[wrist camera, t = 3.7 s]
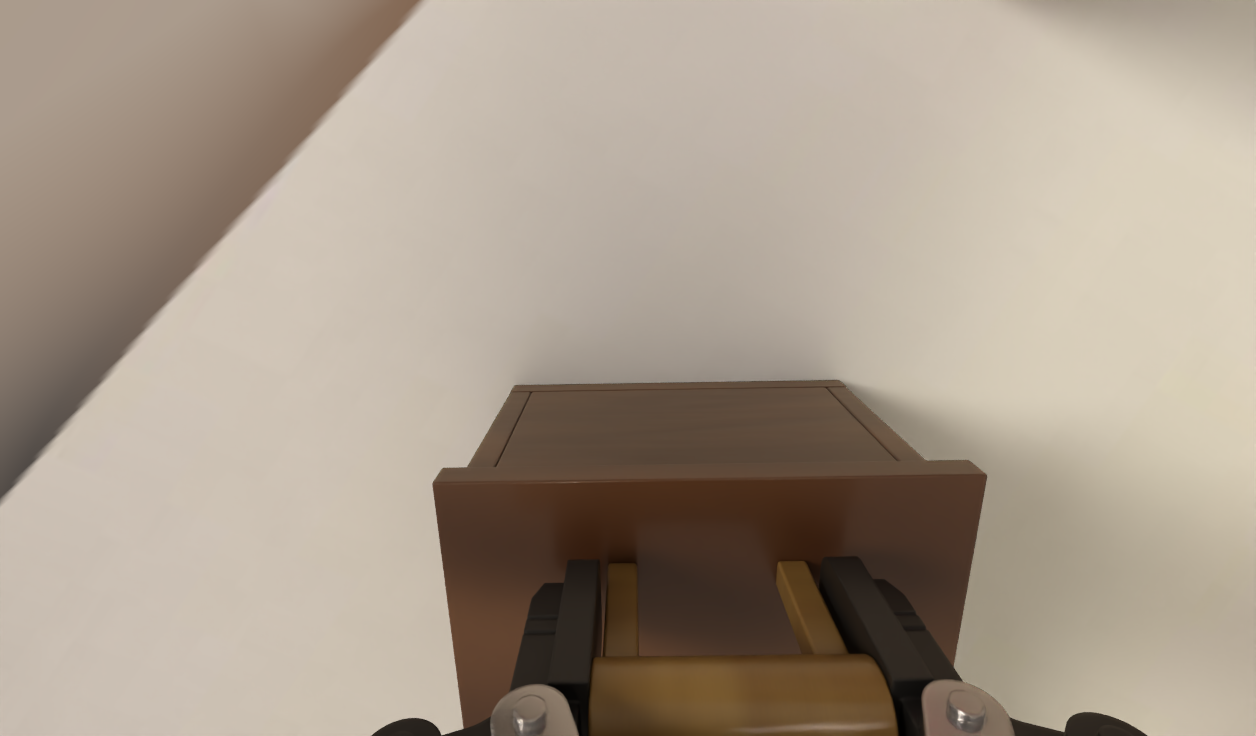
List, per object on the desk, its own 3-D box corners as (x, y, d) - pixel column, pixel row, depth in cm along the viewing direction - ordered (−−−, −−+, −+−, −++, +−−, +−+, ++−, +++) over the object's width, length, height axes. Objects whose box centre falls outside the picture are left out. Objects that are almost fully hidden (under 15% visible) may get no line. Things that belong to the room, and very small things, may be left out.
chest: (514, 384, 23) (446, 499, 14) (839, 379, 23) (962, 491, 14) (539, 702, 27) (499, 929, 19) (810, 699, 27) (890, 926, 19)
